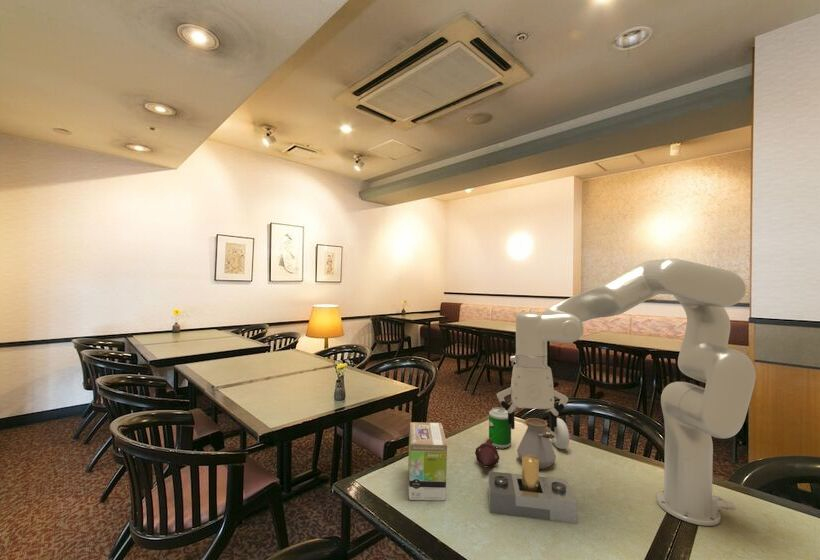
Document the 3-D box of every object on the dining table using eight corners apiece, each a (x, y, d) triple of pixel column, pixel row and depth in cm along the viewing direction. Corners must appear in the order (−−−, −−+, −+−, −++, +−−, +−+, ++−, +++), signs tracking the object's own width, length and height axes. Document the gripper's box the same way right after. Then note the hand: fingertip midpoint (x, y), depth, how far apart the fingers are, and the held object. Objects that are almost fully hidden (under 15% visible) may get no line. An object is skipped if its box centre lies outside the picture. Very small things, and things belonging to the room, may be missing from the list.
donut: (547, 441, 127) (548, 413, 127) (557, 441, 128) (557, 413, 128) (561, 455, 117) (561, 424, 117) (571, 454, 118) (571, 424, 118)
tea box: (447, 501, 92) (447, 444, 92) (408, 501, 92) (408, 443, 92) (441, 470, 107) (442, 421, 107) (408, 470, 107) (408, 420, 107)
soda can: (513, 443, 125) (514, 409, 125) (507, 452, 119) (507, 416, 119) (492, 438, 129) (493, 405, 129) (485, 446, 123) (486, 411, 123)
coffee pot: (513, 453, 118) (513, 407, 118) (548, 454, 118) (549, 409, 118) (531, 490, 97) (532, 435, 97) (574, 492, 96) (575, 437, 96)
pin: (539, 511, 88) (540, 462, 88) (522, 509, 89) (523, 461, 89) (536, 501, 92) (537, 455, 92) (520, 499, 93) (521, 453, 93)
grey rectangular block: (566, 498, 94) (566, 476, 94) (576, 523, 84) (577, 499, 84) (488, 489, 97) (488, 468, 97) (490, 512, 87) (490, 489, 87)
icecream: (501, 458, 102) (502, 440, 116) (476, 447, 104) (480, 431, 118) (494, 481, 102) (496, 461, 116) (469, 470, 104) (474, 452, 118)
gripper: (497, 363, 89) (498, 432, 88) (571, 365, 85) (572, 437, 85) (495, 357, 96) (496, 420, 96) (563, 359, 93) (564, 424, 93)
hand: (532, 428), depth 91 cm, fingers open, 9 cm apart
